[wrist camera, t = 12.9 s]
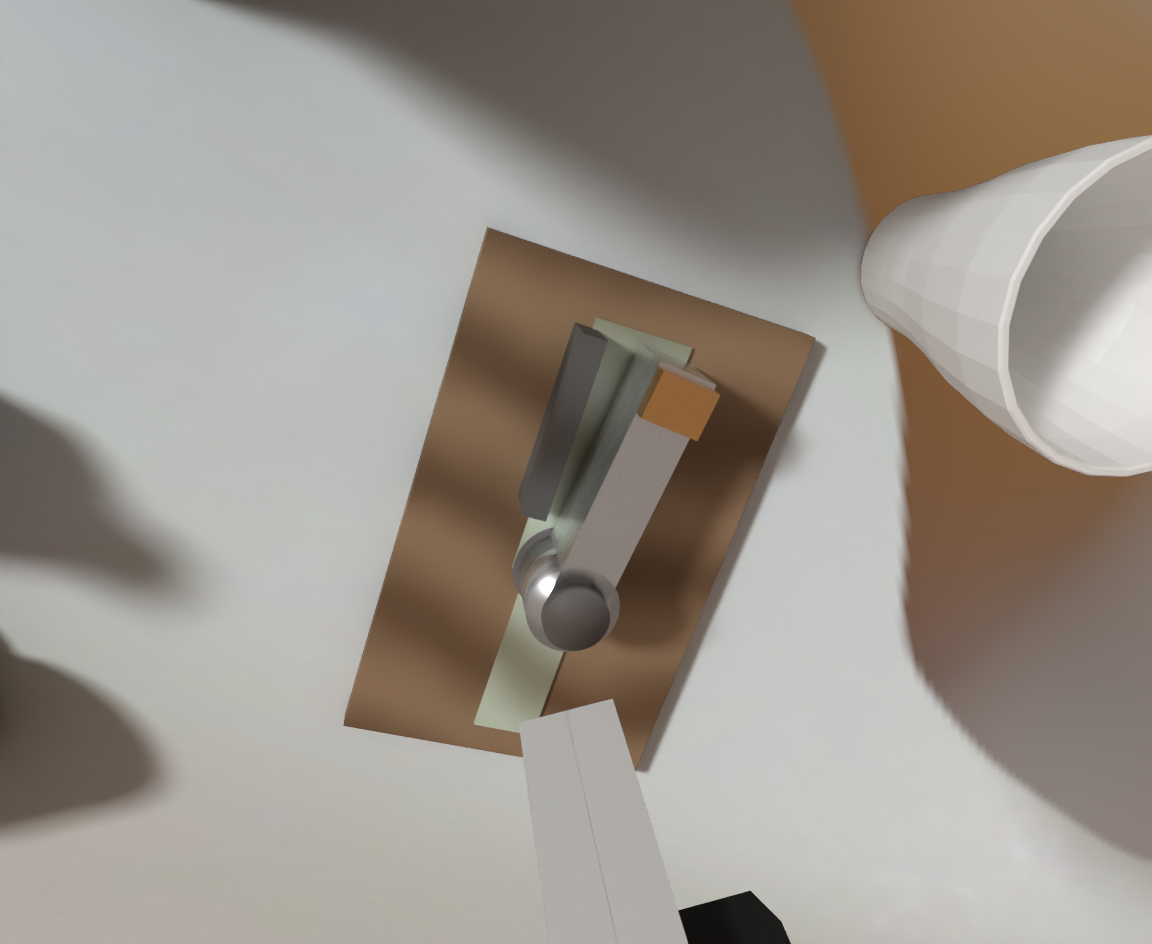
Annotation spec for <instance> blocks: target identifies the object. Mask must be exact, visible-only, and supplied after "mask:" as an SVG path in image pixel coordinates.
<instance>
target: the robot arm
mask: <svg viewBox="0 0 1152 944" xmlns="http://www.w3.org/2000/svg"><path fill="white" fill-rule="evenodd" d="M519 730H520V737H521V744H522V752H523V759H524V766H525V773H526V781H527V788H528V795H529V802H530V810H531V817H532V824H533V831H534V839H535V846H536V853H537V861H538V868H539V875H540V882H541V890H542V897H543V904H544V911H545V919H546V926H547V933H548V941H549V944H791V943H790V941H789V938H788V936H787V934H786V931H785V929H784V927H783V925H782V922H781V921H780V920H779V919H778V918H777V917H776V916H775V915H774V914H773V913H772V912H771V911H770V910H769V909H768V908H767V907H766V906H765V905H764V904H763V903H762V902H761V901H760V900H759V899H758V898H757V897H756V896H755V895H754V894H753V893H752V892H751V891H748V892H744V893H740V894H737V895H733V896H729V897H726V898H722V899H719V900H715V901H711V902H708V903H704V904H700V905H697V906H693V907H689V908H686V909H682V910H679V911H678V909H677V906H676V902H675V899H674V896H673V893H672V889H671V886H670V883H669V880H668V876H667V873H666V870H665V867H664V863H663V860H662V857H661V854H660V850H659V847H658V844H657V841H656V837H655V834H654V831H653V828H652V824H651V821H650V818H649V815H648V811H647V808H646V805H645V802H644V798H643V795H642V792H641V789H640V785H639V782H638V779H637V776H636V772H635V769H634V766H633V763H632V759H631V756H630V753H629V750H628V746H627V743H626V740H625V737H624V734H623V730H622V727H621V724H620V721H619V717H618V714H617V711H616V708H615V704H614V701H613V699H609V700H605V701H602V702H598V703H594V704H590V705H586V706H582V707H578V708H574V709H570V710H567V711H563V712H559V713H555V714H551V715H547V716H543V717H539V718H535V719H532V720H528V721H524V722H520V723H519Z"/></svg>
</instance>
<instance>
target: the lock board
mask: <svg viewBox="0 0 1152 944" xmlns="http://www.w3.org/2000/svg"><path fill="white" fill-rule="evenodd" d="M814 341H815V338H814V337H812V336H810V335H807V334H805V333H802V332H799V331H796V330H793V329H790V328H787V327H784V326H781V325H778V324H775V323H772V322H769V321H766V320H763V319H760V318H757V317H754V316H751V315H748V314H745V313H742V312H739V311H736V310H733V309H730V308H727V307H724V306H721V305H718V304H715V303H712V302H709V301H706V300H703V299H700V298H697V297H694V296H691V295H688V294H685V293H682V292H679V291H676V290H673V289H670V288H667V287H664V286H661V285H658V284H655V283H652V282H649V281H646V280H644V279H641V278H638V277H635V276H632V275H629V274H626V273H623V272H620V271H617V270H614V269H611V268H608V267H605V266H602V265H599V264H596V263H593V262H590V261H587V260H584V259H581V258H578V257H575V256H572V255H569V254H566V253H563V252H560V251H557V250H554V249H551V248H548V247H545V246H542V245H539V244H536V243H533V242H530V241H527V240H524V239H521V238H518V237H515V236H512V235H509V234H506V233H503V232H500V231H497V230H494V229H491V228H488V227H487V230H486V233H485V236H484V240H483V243H482V247H481V250H480V254H479V257H478V260H477V264H476V267H475V271H474V274H473V278H472V281H471V284H470V288H469V291H468V295H467V298H466V302H465V305H464V308H463V312H462V315H461V319H460V322H459V326H458V329H457V332H456V336H455V339H454V343H453V346H452V350H451V353H450V356H449V360H448V363H447V367H446V370H445V374H444V377H443V380H442V384H441V387H440V391H439V394H438V398H437V401H436V404H435V408H434V411H433V415H432V418H431V422H430V425H429V428H428V432H427V435H426V439H425V442H424V446H423V449H422V452H421V456H420V459H419V463H418V466H417V470H416V473H415V476H414V480H413V483H412V487H411V490H410V494H409V497H408V500H407V504H406V507H405V511H404V514H403V518H402V521H401V524H400V528H399V531H398V535H397V538H396V542H395V545H394V548H393V552H392V555H391V559H390V562H389V566H388V569H387V572H386V576H385V579H384V583H383V586H382V590H381V593H380V596H379V600H378V603H377V607H376V610H375V613H374V617H373V620H372V624H371V627H370V631H369V634H368V637H367V641H366V644H365V648H364V651H363V655H362V658H361V661H360V665H359V668H358V672H357V675H356V679H355V682H354V685H353V689H352V692H351V696H350V699H349V703H348V706H347V709H346V713H345V719H344V725H343V726H348V727H354V728H359V729H365V730H371V731H376V732H382V733H388V734H393V735H399V736H405V737H411V738H416V739H422V740H428V741H433V742H439V743H445V744H450V745H456V746H462V747H467V748H473V749H479V750H484V751H490V752H496V753H502V754H507V755H513V756H519V757H523V752H522V744H521V737H520V730H519V723H520V722H524V721H528V720H532V719H535V718H539V717H543V716H547V715H551V714H555V713H559V712H563V711H567V710H570V709H574V708H578V707H582V706H586V705H590V704H594V703H598V702H602V701H605V700H609V699H613V701H614V704H615V708H616V711H617V714H618V717H619V721H620V724H621V727H622V730H623V734H624V737H625V740H626V743H627V746H628V750H629V753H630V756H631V759H632V763H633V766H634V769H635V770H636V768H637V765H638V763H639V761H640V758H641V756H642V753H643V751H644V749H645V746H646V744H647V741H648V739H649V737H650V734H651V732H652V729H653V727H654V725H655V722H656V720H657V717H658V715H659V713H660V710H661V708H662V705H663V703H664V701H665V698H666V696H667V693H668V691H669V689H670V686H671V684H672V681H673V679H674V677H675V674H676V672H677V669H678V667H679V665H680V662H681V660H682V657H683V655H684V653H685V650H686V648H687V645H688V643H689V641H690V638H691V636H692V633H693V631H694V629H695V626H696V624H697V621H698V619H699V617H700V614H701V612H702V609H703V607H704V605H705V602H706V600H707V597H708V595H709V593H710V590H711V588H712V585H713V583H714V581H715V578H716V576H717V573H718V571H719V569H720V566H721V564H722V561H723V559H724V557H725V554H726V552H727V549H728V547H729V545H730V542H731V540H732V537H733V535H734V533H735V530H736V528H737V525H738V523H739V521H740V518H741V516H742V514H743V511H744V509H745V506H746V504H747V502H748V499H749V497H750V494H751V492H752V490H753V487H754V485H755V482H756V480H757V478H758V475H759V473H760V470H761V468H762V466H763V463H764V461H765V458H766V456H767V454H768V451H769V449H770V446H771V444H772V442H773V439H774V437H775V434H776V432H777V430H778V427H779V425H780V422H781V420H782V418H783V415H784V413H785V410H786V408H787V406H788V403H789V401H790V398H791V396H792V394H793V391H794V389H795V386H796V384H797V382H798V379H799V377H800V374H801V372H802V370H803V367H804V365H805V362H806V360H807V358H808V355H809V353H810V350H811V348H812V346H813V343H814ZM640 343H642V344H644V345H646V346H649V347H651V348H653V349H656V350H658V351H660V352H663V353H665V354H667V355H669V356H672V357H674V358H676V359H679V360H681V361H683V362H686V363H688V364H690V365H692V366H693V367H695V368H696V369H697V370H698V371H700V372H701V373H702V374H703V375H704V376H706V377H707V378H708V379H709V380H711V381H712V382H713V383H714V384H716V387H715V389H714V390H715V391H716V392H718V393H719V394H720V397H719V399H718V401H717V403H716V405H715V407H714V409H713V411H712V413H711V415H710V417H709V419H708V421H707V423H706V425H705V427H704V429H703V431H702V433H701V435H700V437H699V439H698V441H695V440H693V439H691V438H690V439H689V441H688V443H687V445H686V447H685V449H684V451H683V453H682V455H681V457H680V459H679V461H678V463H677V465H676V467H675V470H674V472H673V474H672V476H671V478H670V480H669V482H668V484H667V486H666V488H665V490H664V492H663V494H662V496H661V498H660V500H659V502H658V504H657V506H656V508H655V510H654V512H653V514H652V516H651V518H650V520H649V522H648V524H647V526H646V528H645V530H644V532H643V534H642V536H641V538H640V540H639V542H638V544H637V546H636V548H635V550H634V552H633V554H632V556H631V558H630V560H629V562H628V564H627V566H626V568H625V570H624V572H623V574H622V576H621V578H620V580H619V582H618V584H617V586H616V591H617V593H618V596H619V601H620V611H619V616H618V620H617V622H616V624H615V626H614V628H613V629H612V631H611V632H610V633H609V634H608V635H607V636H606V637H605V638H604V639H603V640H602V641H601V642H599V641H600V640H601V639H602V638H603V636H604V635H605V634H606V632H607V630H608V627H609V624H610V613H609V609H608V607H607V604H606V602H605V599H604V598H603V596H602V595H601V594H600V593H599V592H598V591H597V590H596V589H594V588H592V587H590V586H587V585H583V584H571V585H567V586H564V587H561V588H559V589H558V590H556V591H554V592H553V593H552V594H551V595H550V596H549V597H548V598H547V600H546V601H545V603H544V605H543V607H542V611H541V621H542V626H543V630H544V633H545V635H546V637H547V639H548V640H549V641H550V642H551V643H552V644H553V645H555V646H556V647H558V648H560V649H563V650H568V651H575V652H563V651H557V650H554V649H551V648H548V647H547V646H545V645H543V644H542V643H540V642H539V641H538V640H537V639H536V638H535V637H534V636H533V634H532V633H531V631H530V629H529V627H528V624H527V620H526V615H525V610H524V605H523V600H522V595H521V590H520V585H519V580H518V570H519V565H520V562H521V560H522V558H523V556H524V554H525V553H526V552H527V550H528V549H529V548H530V547H531V546H532V545H533V544H534V543H536V542H537V541H539V540H540V539H542V538H544V537H546V536H549V535H551V533H552V531H553V529H554V527H555V524H556V522H557V520H558V518H559V516H560V514H561V512H562V509H563V507H564V505H565V503H566V501H567V499H568V497H569V495H570V492H571V490H572V488H573V486H574V484H575V482H576V480H577V477H578V475H579V473H580V471H581V469H582V467H583V465H584V462H585V460H586V458H587V456H588V454H589V452H590V450H591V447H592V445H593V443H594V441H595V439H596V437H597V435H598V432H599V430H600V428H601V426H602V424H603V422H604V420H605V417H606V415H607V413H608V411H609V409H610V407H611V405H612V402H613V400H614V398H615V396H616V394H617V392H618V390H619V387H620V385H621V383H622V381H623V379H624V377H625V375H626V372H627V370H628V368H629V366H630V364H631V362H632V360H633V357H634V355H635V353H636V351H637V349H638V347H639V345H640ZM598 642H599V643H598ZM596 643H598V644H596ZM595 644H596V645H595ZM593 645H594V646H593ZM591 646H592V647H591ZM589 647H590V648H589ZM584 649H585V650H584ZM579 650H581V651H579Z"/></svg>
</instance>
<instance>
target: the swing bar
mask: <svg viewBox="0 0 1152 944" xmlns="http://www.w3.org/2000/svg"><path fill="white" fill-rule="evenodd" d="M715 387H716V384H714V383H713V382H712V381H711V380H709V379H708V378H707V377H706V376H704V375H703V374H702V373H701V372H700V371H698V370H697V369H696V368H695V367H693V366H692V365H690V364H688V363H686V362H683V361H681V360H679V359H676V358H674V357H672V356H669V355H667V354H665V353H663V352H660V351H658V350H656V349H653V348H651V347H649V346H646V345H644V344H642V343H640V345H639V347H638V349H637V351H636V353H635V355H634V357H633V360H632V362H631V364H630V366H629V368H628V370H627V372H626V375H625V377H624V379H623V381H622V383H621V385H620V387H619V390H618V392H617V394H616V396H615V398H614V400H613V402H612V405H611V407H610V409H609V411H608V413H607V415H606V417H605V420H604V422H603V424H602V426H601V428H600V430H599V432H598V435H597V437H596V439H595V441H594V443H593V445H592V447H591V450H590V452H589V454H588V456H587V458H586V460H585V462H584V465H583V467H582V469H581V471H580V473H579V475H578V477H577V480H576V482H575V484H574V486H573V488H572V490H571V492H570V495H569V497H568V499H567V501H566V503H565V505H564V507H563V509H562V512H561V514H560V516H559V518H558V520H557V522H556V524H555V527H554V529H553V531H552V533H551V535H549V536H546V537H544V538H542V539H540V540H539V541H537V542H536V543H534V544H533V545H532V546H531V547H530V548H529V549H528V550H527V552H526V553H525V554H524V556H523V558H522V560H521V562H520V565H519V570H518V580H519V585H520V590H521V595H522V600H523V605H524V610H525V615H526V620H527V624H528V627H529V629H530V631H531V633H532V634H533V636H534V637H535V638H536V639H537V640H538V641H539V642H540V643H542V644H543V645H545V646H547V647H548V648H551V649H554V650H557V651H563V652H575V651H568V650H563V649H560V648H558V647H556V646H555V645H553V644H552V643H551V642H550V641H549V640H548V639H547V637H546V635H545V633H544V630H543V626H542V621H541V611H542V607H543V605H544V603H545V601H546V600H547V598H548V597H549V596H550V595H551V594H552V593H553V592H554V591H556V590H558V589H559V588H561V587H564V586H567V585H571V584H583V585H587V586H590V587H592V588H594V589H596V590H597V591H598V592H599V593H600V594H601V595H602V596H603V598H604V599H605V602H606V604H607V607H608V609H609V613H610V624H609V627H608V630H607V632H606V634H605V635H604V636H603V638H602V639H601V640H600V641H599V642H601V641H602V640H603V639H604V638H605V637H606V636H607V635H608V634H609V633H610V632H611V631H612V629H613V628H614V626H615V624H616V622H617V620H618V616H619V611H620V601H619V596H618V593H617V591H616V586H617V584H618V582H619V580H620V578H621V576H622V574H623V572H624V570H625V568H626V566H627V564H628V562H629V560H630V558H631V556H632V554H633V552H634V550H635V548H636V546H637V544H638V542H639V540H640V538H641V536H642V534H643V532H644V530H645V528H646V526H647V524H648V522H649V520H650V518H651V516H652V514H653V512H654V510H655V508H656V506H657V504H658V502H659V500H660V498H661V496H662V494H663V492H664V490H665V488H666V486H667V484H668V482H669V480H670V478H671V476H672V474H673V472H674V470H675V467H676V465H677V463H678V461H679V459H680V457H681V455H682V453H683V451H684V449H685V447H686V445H687V443H688V441H689V439H690V438H691V439H693V440H695V441H698V439H699V437H700V435H701V433H702V431H703V429H704V427H705V425H706V423H707V421H708V419H709V417H710V415H711V413H712V411H713V409H714V407H715V405H716V403H717V401H718V399H719V397H720V394H719V393H718V392H716V391H715V390H714V389H715ZM599 642H598V643H599ZM598 643H596V644H598ZM596 644H595V645H596ZM593 646H594V645H593ZM591 647H592V646H591ZM589 648H590V647H589ZM584 650H585V649H584ZM579 651H581V650H579Z"/></svg>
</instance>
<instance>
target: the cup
mask: <svg viewBox="0 0 1152 944" xmlns="http://www.w3.org/2000/svg"><path fill="white" fill-rule="evenodd" d="M861 284H862V289H863V292H864V295H865V299H866V302H867V304H868V305H869V307H870V308H871V310H872V311H873V313H874V314H875V316H877V317H878V318H879V319H880V320H882V321H883V322H884V323H885V324H887V325H888V326H890V327H891V328H893V329H895V330H896V331H898V332H900V333H901V334H903V335H905V336H906V337H908V338H909V339H910V340H911V341H912V342H913V343H914V344H915V345H916V346H917V347H918V348H919V349H920V350H921V351H922V352H924V354H925V355H926V356H927V357H928V359H929V360H930V361H931V362H932V364H933V365H934V366H935V367H936V369H937V370H938V371H939V372H940V373H941V375H943V377H944V378H945V380H946V381H947V382H949V383H950V384H951V385H952V386H953V387H954V388H955V389H956V390H957V391H959V392H960V393H961V394H962V395H963V396H964V397H965V398H966V399H967V400H969V401H970V402H971V403H972V404H973V405H974V406H975V407H976V408H977V409H979V410H980V411H981V412H982V413H983V414H984V415H985V416H987V417H988V418H989V419H990V420H991V421H993V422H994V423H995V424H997V425H998V426H999V427H1000V428H1001V429H1003V430H1004V431H1005V432H1006V433H1008V434H1009V435H1010V436H1012V437H1013V438H1015V439H1016V440H1018V441H1020V442H1021V443H1023V444H1025V445H1026V446H1028V447H1029V448H1031V449H1032V450H1034V451H1036V452H1037V453H1039V454H1040V455H1042V456H1043V457H1045V458H1047V459H1048V460H1050V461H1052V462H1053V463H1055V464H1058V465H1060V466H1063V467H1066V468H1069V469H1071V470H1074V471H1077V472H1080V473H1082V474H1085V475H1091V476H1114V477H1126V476H1131V475H1136V474H1140V473H1144V472H1149V471H1152V135H1148V136H1140V137H1133V138H1127V139H1121V140H1116V141H1111V142H1105V143H1100V144H1095V145H1090V146H1086V147H1083V148H1079V149H1076V150H1073V151H1069V152H1066V153H1062V154H1059V155H1055V156H1052V157H1048V158H1045V159H1042V160H1038V161H1035V162H1031V163H1028V164H1025V165H1023V166H1020V167H1018V168H1016V169H1013V170H1011V171H1009V172H1006V173H1004V174H1002V175H999V176H997V177H995V178H993V179H990V180H988V181H986V182H983V183H980V184H977V185H973V186H970V187H967V188H964V189H961V190H958V191H954V192H945V193H936V194H929V195H924V196H919V197H914V198H912V199H910V200H908V201H907V202H904V203H902V204H900V205H898V206H897V207H896V208H895V209H894V210H892V211H891V212H890V213H889V214H888V215H887V216H885V217H884V218H883V220H882V221H881V222H880V223H879V225H878V226H877V227H876V229H875V230H874V231H873V233H872V235H871V237H870V239H869V241H868V244H867V246H866V248H865V250H864V255H863V260H862V265H861Z"/></svg>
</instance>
